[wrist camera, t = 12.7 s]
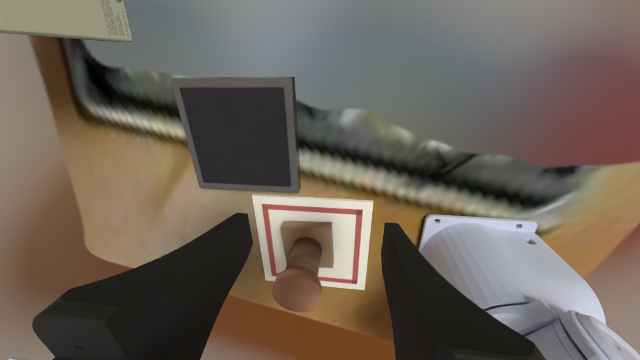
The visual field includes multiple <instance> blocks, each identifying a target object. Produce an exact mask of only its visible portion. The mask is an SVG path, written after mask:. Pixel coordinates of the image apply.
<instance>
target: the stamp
mask: <svg viewBox="0 0 640 360" xmlns="http://www.w3.org/2000/svg"><path fill="white" fill-rule="evenodd" d="M280 229H281V235H282V240H283V246H284V252H285V258H286V264H287V265H286V268H285V270H283V271H281V272H280V273H279V274H278V275H277V277H276V279H275V282H274V285H273V288H272V295H273V298H274V299H275V301H276V302H277V303H278V304H279V305H281V306H282V307H284V308H286V309H288V310H291V311H295V312H306V311H310V310H312V309H314V308H315V307H317V306H318V304H319V302H320V296H321V289H322V287H321V283H320V281H319V279H318V272H319V267H320V268H333V264H334V251H333V233H332V222H311V221H283V224H282V226H281V228H280Z"/></svg>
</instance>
